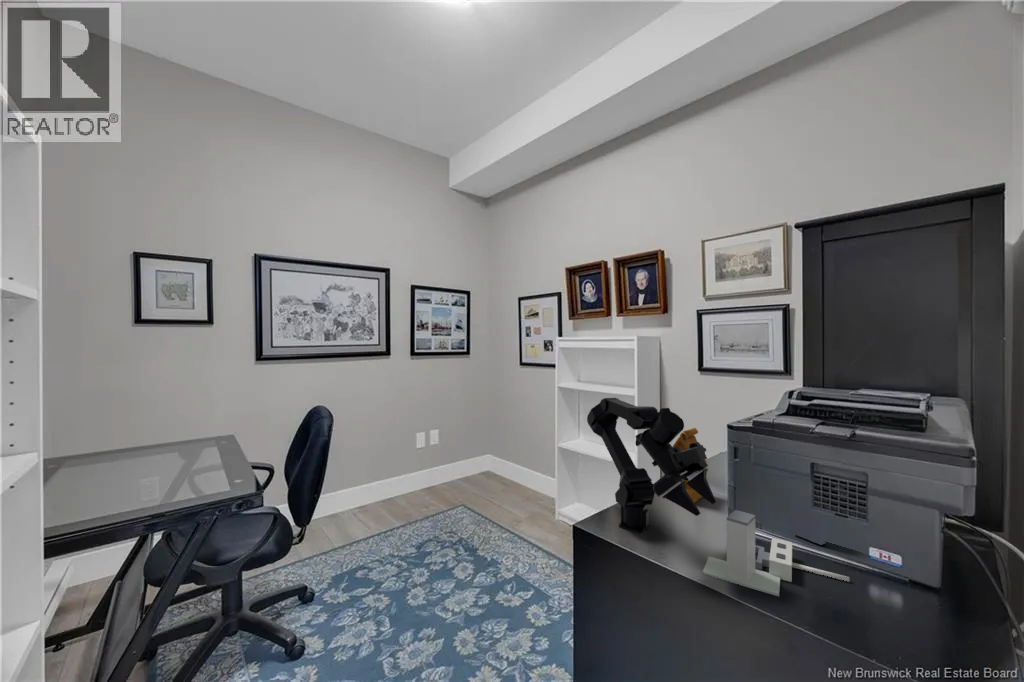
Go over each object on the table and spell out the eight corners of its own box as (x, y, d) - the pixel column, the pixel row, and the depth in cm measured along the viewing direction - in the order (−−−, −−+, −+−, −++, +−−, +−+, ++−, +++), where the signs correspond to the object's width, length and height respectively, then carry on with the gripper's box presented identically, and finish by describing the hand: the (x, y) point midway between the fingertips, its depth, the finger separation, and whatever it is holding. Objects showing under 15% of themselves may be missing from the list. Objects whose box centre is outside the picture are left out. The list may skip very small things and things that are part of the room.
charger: (726, 575, 88) (726, 517, 88) (735, 565, 92) (735, 509, 92) (747, 582, 85) (747, 523, 85) (755, 572, 89) (755, 515, 89)
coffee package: (712, 496, 133) (712, 429, 133) (695, 507, 125) (695, 435, 125) (682, 488, 141) (682, 424, 141) (664, 498, 132) (664, 430, 132)
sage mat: (702, 573, 90) (702, 571, 90) (708, 558, 96) (708, 556, 96) (779, 596, 82) (779, 594, 82) (780, 578, 88) (780, 576, 88)
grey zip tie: (725, 563, 94) (725, 547, 94) (732, 542, 104) (732, 527, 104) (852, 599, 81) (852, 580, 81) (846, 570, 91) (846, 554, 91)
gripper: (665, 439, 91) (717, 502, 84) (699, 426, 104) (747, 480, 96) (633, 466, 97) (679, 528, 89) (669, 451, 110) (712, 504, 102)
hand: (706, 508), depth 94 cm, fingers open, 9 cm apart
